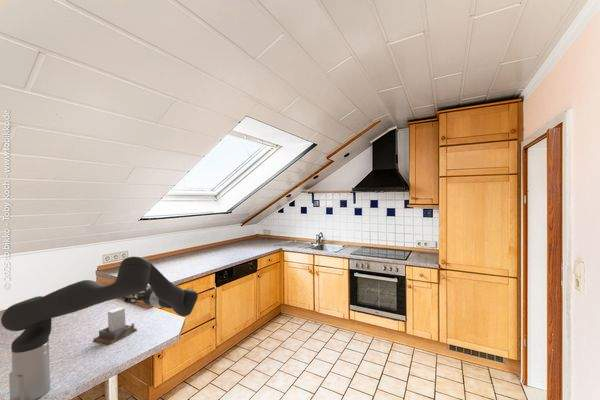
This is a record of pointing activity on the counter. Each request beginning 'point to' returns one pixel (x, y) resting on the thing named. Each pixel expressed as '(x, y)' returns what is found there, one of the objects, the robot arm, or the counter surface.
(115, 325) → the skincare box
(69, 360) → the counter surface
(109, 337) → the locating plate
